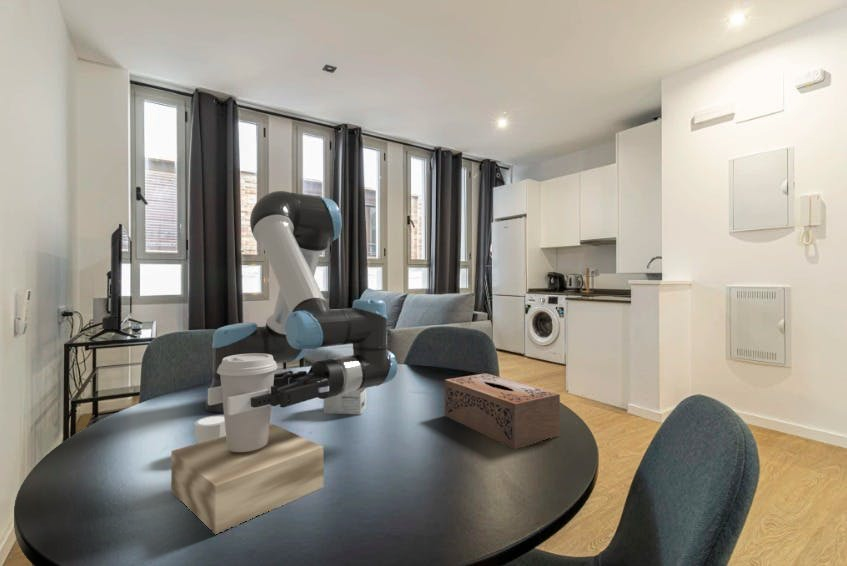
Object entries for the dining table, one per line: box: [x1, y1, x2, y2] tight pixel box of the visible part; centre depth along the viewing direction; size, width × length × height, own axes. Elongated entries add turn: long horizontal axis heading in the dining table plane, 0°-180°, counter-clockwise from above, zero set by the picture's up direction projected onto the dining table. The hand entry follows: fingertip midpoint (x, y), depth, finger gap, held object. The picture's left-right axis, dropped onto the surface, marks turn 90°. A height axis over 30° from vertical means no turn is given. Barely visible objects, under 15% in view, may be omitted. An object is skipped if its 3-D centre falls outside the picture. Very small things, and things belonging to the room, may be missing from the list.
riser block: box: [170, 422, 325, 534], centre depth 70 cm, size 18×18×7 cm
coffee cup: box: [217, 353, 278, 452], centre depth 70 cm, size 10×10×15 cm
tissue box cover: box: [444, 372, 561, 450], centre depth 101 cm, size 26×14×10 cm, turn 33°
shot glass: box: [193, 414, 226, 444], centre depth 84 cm, size 7×7×7 cm
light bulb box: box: [323, 388, 368, 415], centre depth 113 cm, size 11×7×11 cm, turn 84°
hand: (218, 401), depth 66 cm, fingers closed on coffee cup, 7 cm apart
